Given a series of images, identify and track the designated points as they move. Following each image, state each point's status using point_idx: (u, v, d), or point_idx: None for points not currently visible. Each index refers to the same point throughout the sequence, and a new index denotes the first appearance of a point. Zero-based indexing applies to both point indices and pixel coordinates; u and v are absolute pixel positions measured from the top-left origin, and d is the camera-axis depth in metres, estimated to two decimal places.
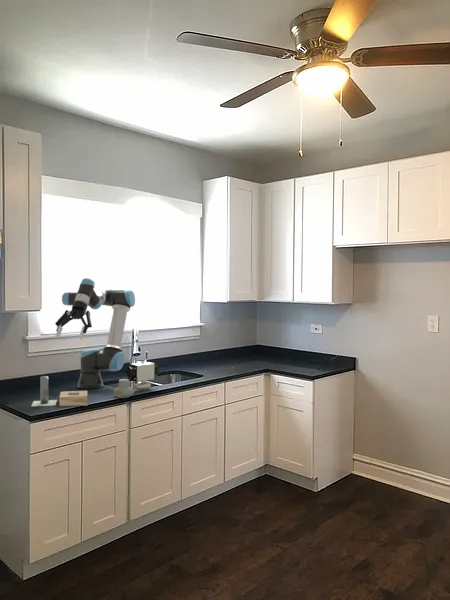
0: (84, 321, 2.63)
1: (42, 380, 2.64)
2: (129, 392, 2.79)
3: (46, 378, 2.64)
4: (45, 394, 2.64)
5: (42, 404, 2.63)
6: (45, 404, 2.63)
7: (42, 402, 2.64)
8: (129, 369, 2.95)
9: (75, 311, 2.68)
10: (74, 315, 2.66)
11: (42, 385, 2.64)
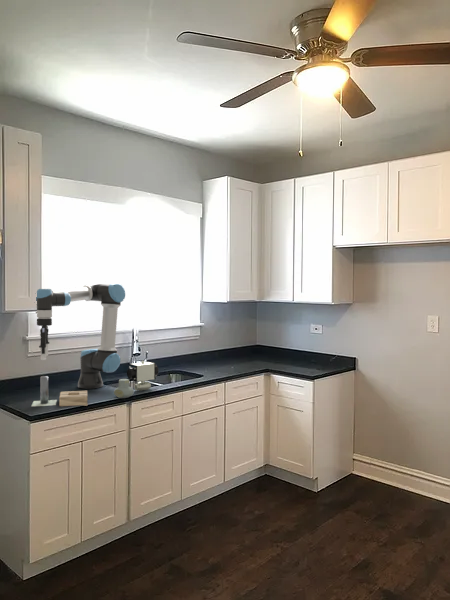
0: None
1: (42, 380, 2.64)
2: (129, 392, 2.79)
3: (46, 378, 2.64)
4: (45, 394, 2.64)
5: (42, 404, 2.63)
6: (45, 404, 2.63)
7: (42, 402, 2.64)
8: (129, 369, 2.95)
9: None
10: None
11: (42, 385, 2.64)
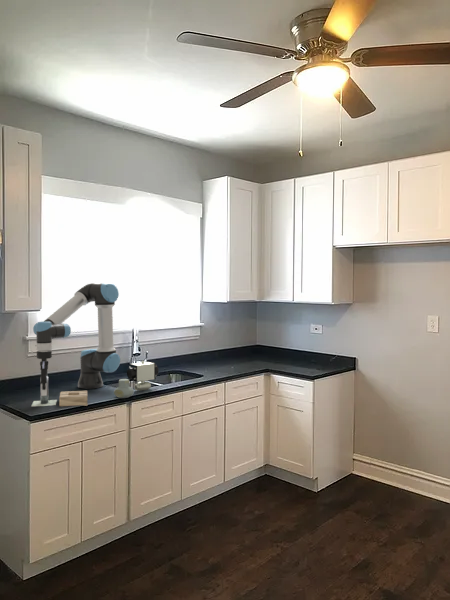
0: None
1: None
2: (129, 392, 2.79)
3: (46, 378, 2.64)
4: None
5: (42, 404, 2.63)
6: (45, 404, 2.63)
7: (42, 402, 2.64)
8: (129, 369, 2.95)
9: None
10: None
11: None
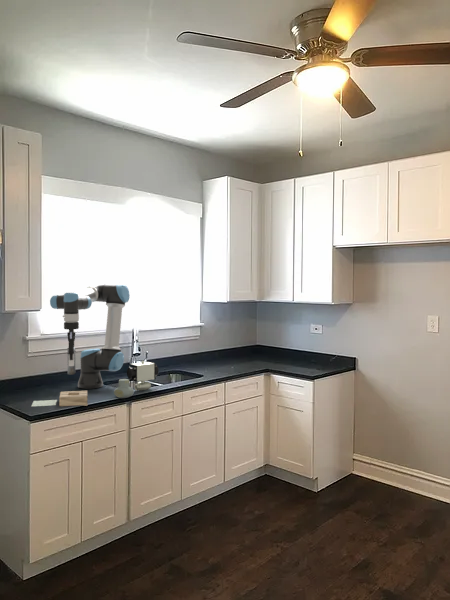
0: None
1: None
2: (129, 392, 2.79)
3: None
4: None
5: (42, 404, 2.63)
6: (45, 404, 2.63)
7: (69, 373, 2.66)
8: (129, 369, 2.95)
9: None
10: None
11: None
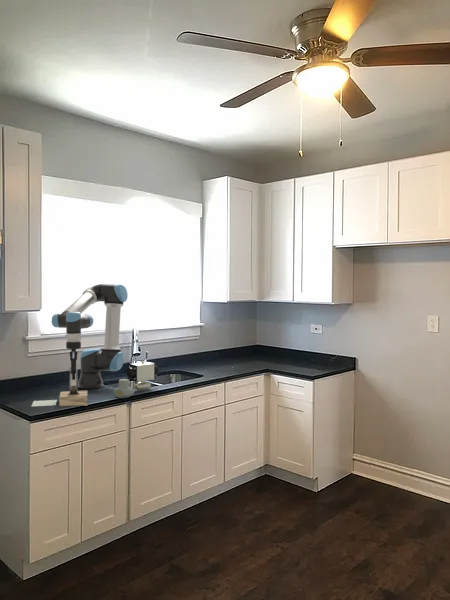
0: None
1: None
2: (129, 392, 2.79)
3: None
4: None
5: (42, 404, 2.63)
6: (45, 404, 2.63)
7: (71, 392, 2.66)
8: (129, 369, 2.95)
9: None
10: None
11: None
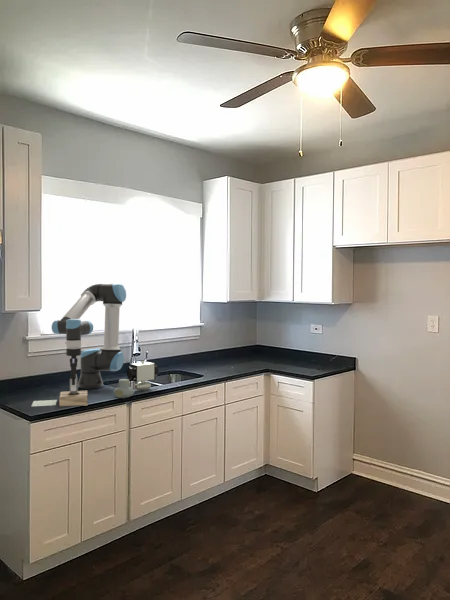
0: None
1: None
2: (129, 392, 2.79)
3: None
4: (74, 394, 2.66)
5: (42, 404, 2.63)
6: (45, 404, 2.63)
7: None
8: (129, 369, 2.95)
9: None
10: None
11: None
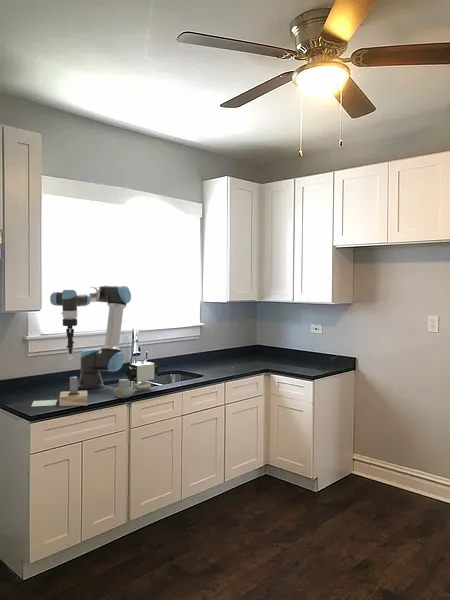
0: None
1: (72, 380, 2.66)
2: (129, 392, 2.79)
3: (75, 378, 2.67)
4: (74, 394, 2.66)
5: (42, 404, 2.63)
6: (45, 404, 2.63)
7: None
8: (129, 369, 2.95)
9: None
10: None
11: (72, 385, 2.66)
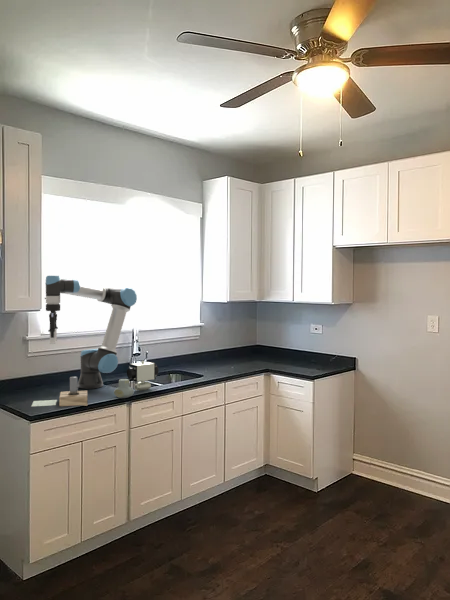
0: None
1: (72, 380, 2.66)
2: (129, 392, 2.79)
3: (75, 378, 2.67)
4: (74, 394, 2.66)
5: (42, 404, 2.63)
6: (45, 404, 2.63)
7: None
8: (129, 369, 2.95)
9: None
10: None
11: (72, 385, 2.66)
